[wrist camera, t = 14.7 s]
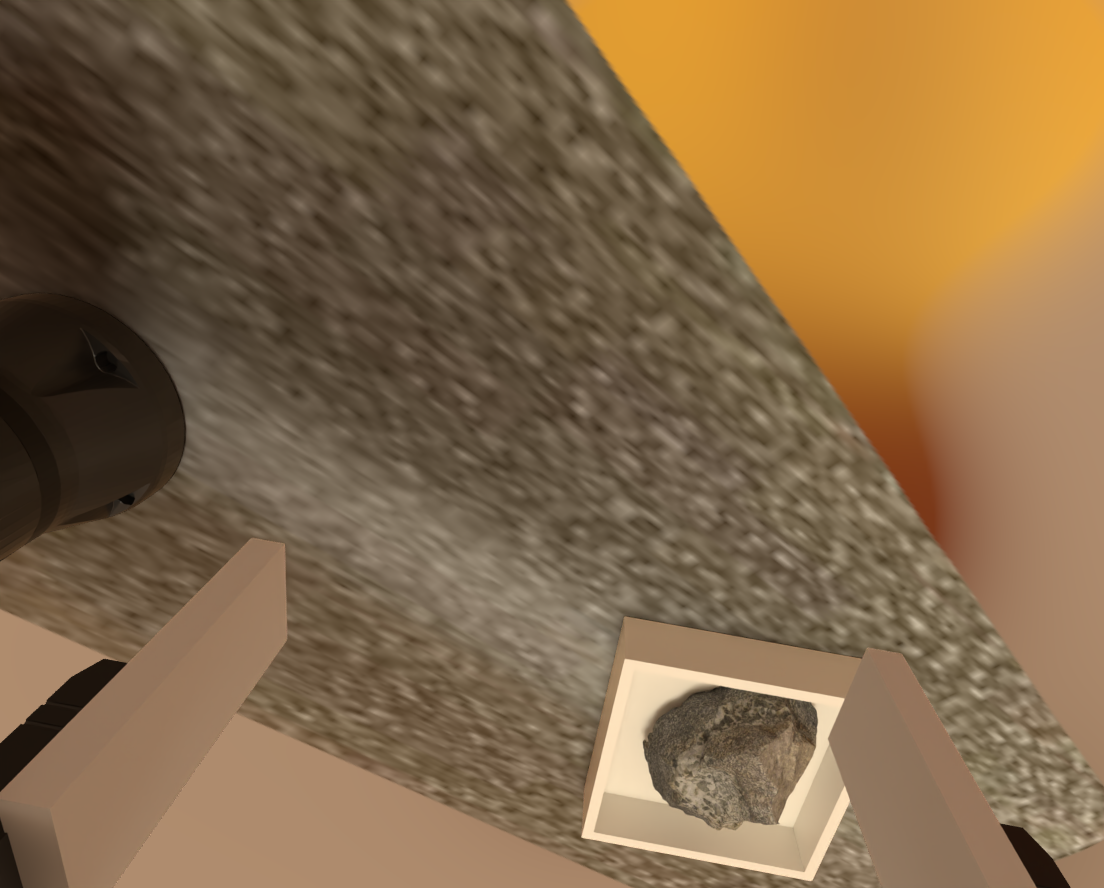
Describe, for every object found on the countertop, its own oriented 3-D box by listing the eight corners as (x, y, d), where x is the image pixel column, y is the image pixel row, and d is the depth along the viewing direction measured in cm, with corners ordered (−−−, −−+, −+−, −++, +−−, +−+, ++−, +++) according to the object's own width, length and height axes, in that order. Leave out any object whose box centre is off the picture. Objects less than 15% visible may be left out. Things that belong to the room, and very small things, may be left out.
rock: (706, 800, 52) (716, 881, 46) (618, 745, 51) (617, 821, 45) (828, 699, 47) (858, 775, 41) (734, 636, 46) (750, 705, 40)
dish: (584, 787, 54) (581, 837, 50) (624, 616, 47) (624, 658, 43) (797, 827, 53) (811, 881, 49) (870, 660, 46) (894, 707, 42)
